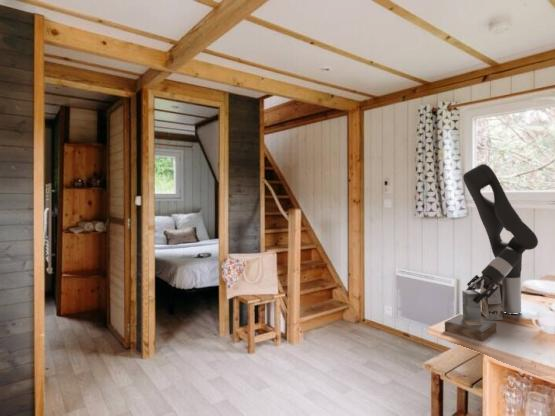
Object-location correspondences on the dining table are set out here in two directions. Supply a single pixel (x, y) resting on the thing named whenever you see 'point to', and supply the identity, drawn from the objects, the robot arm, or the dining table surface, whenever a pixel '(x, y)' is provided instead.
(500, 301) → the coffee box
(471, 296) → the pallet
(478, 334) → the plate
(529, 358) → the dining table surface
